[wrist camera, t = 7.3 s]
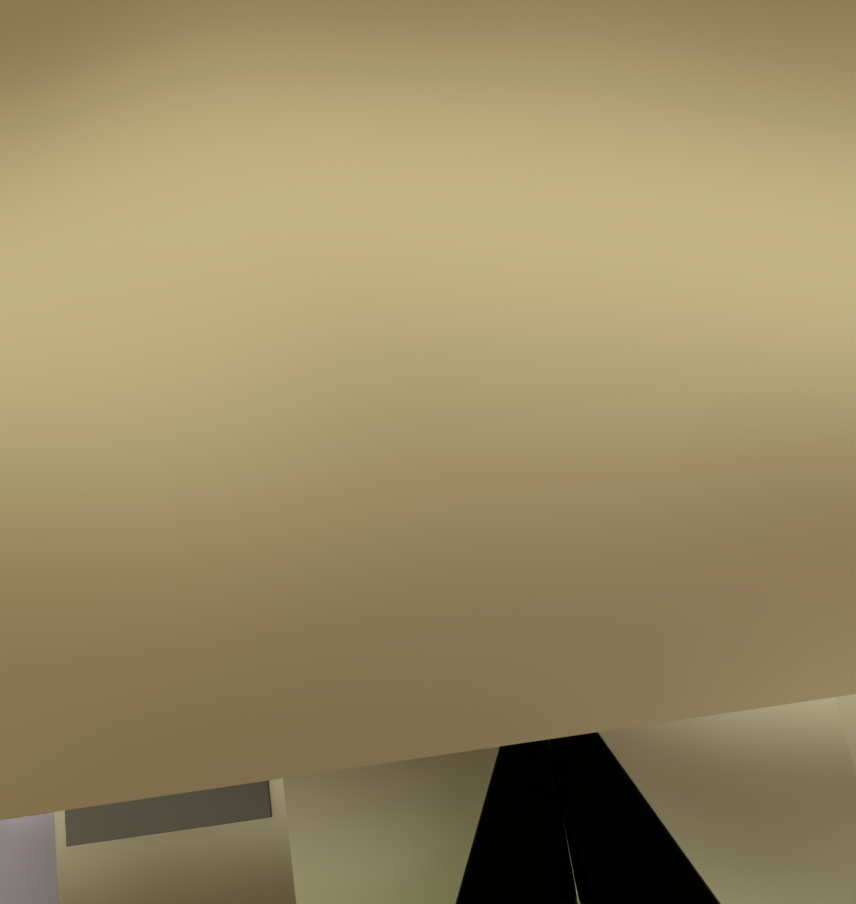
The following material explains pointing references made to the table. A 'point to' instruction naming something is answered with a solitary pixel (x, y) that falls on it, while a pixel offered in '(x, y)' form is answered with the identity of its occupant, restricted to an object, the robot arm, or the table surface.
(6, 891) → the table surface
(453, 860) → the board
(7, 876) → the table surface
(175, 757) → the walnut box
